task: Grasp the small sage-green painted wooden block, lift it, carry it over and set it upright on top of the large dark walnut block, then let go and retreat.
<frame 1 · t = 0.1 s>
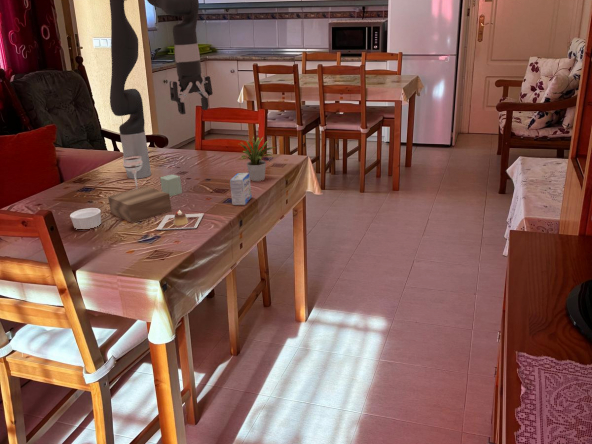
hand: (194, 111, 184), 29 cm above the table, fingers open, 8 cm apart
house plant: (255, 180, 210), on the table
ramekin: (88, 226, 175), on the table
sage block: (172, 193, 201), on the table
medicine box: (242, 202, 188), on the table
walnut block: (141, 213, 184), on the table
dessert: (181, 225, 173), on the table
wineglass: (137, 190, 207), on the table
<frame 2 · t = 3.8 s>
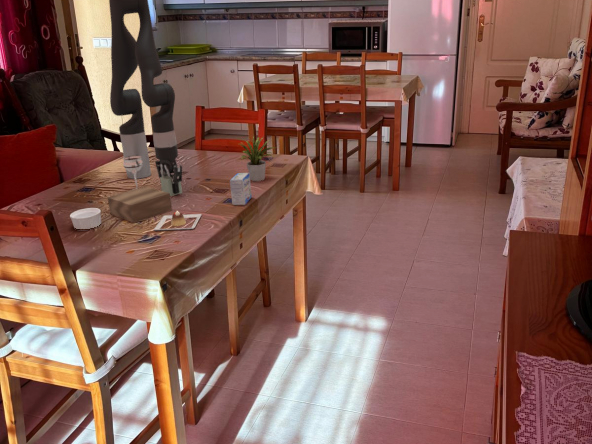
hand: (172, 191, 201), 1 cm above the table, fingers closed on sage block, 5 cm apart
sage block: (172, 193, 201), on the table, touching gripper
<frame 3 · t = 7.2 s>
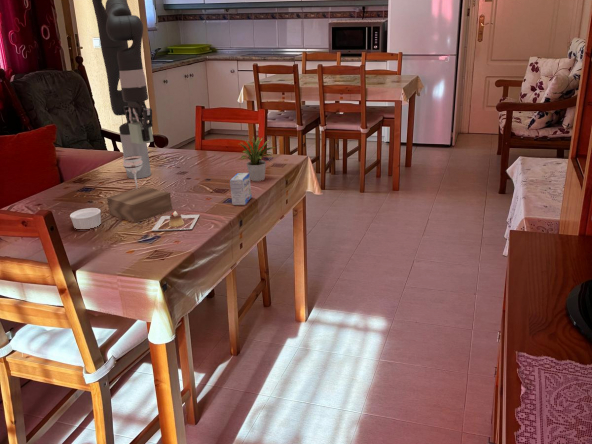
hand: (142, 139, 181), 22 cm above the table, fingers closed on sage block, 5 cm apart
sage block: (142, 141, 181), point 22 cm above the table, touching gripper
when the fingers open (8 cm above the table, at t = 11.0 s): sage block drops 2 cm, resting on walnut block.
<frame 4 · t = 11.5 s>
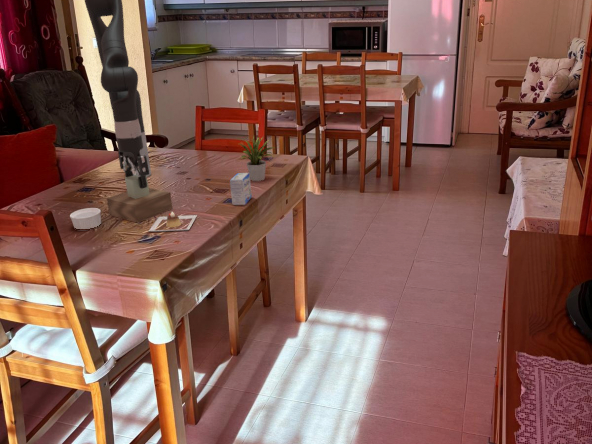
hand: (136, 185, 181), 9 cm above the table, fingers open, 8 cm apart
sage block: (138, 195, 182), point 6 cm above the table, touching walnut block
walnut block: (141, 213, 184), on the table, touching sage block
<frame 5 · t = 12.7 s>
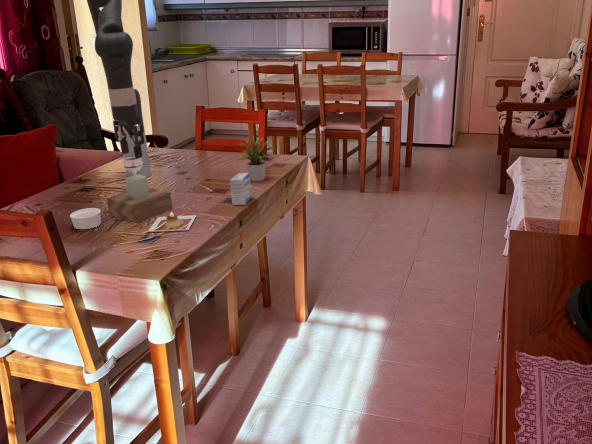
hand: (132, 155, 178), 19 cm above the table, fingers open, 8 cm apart
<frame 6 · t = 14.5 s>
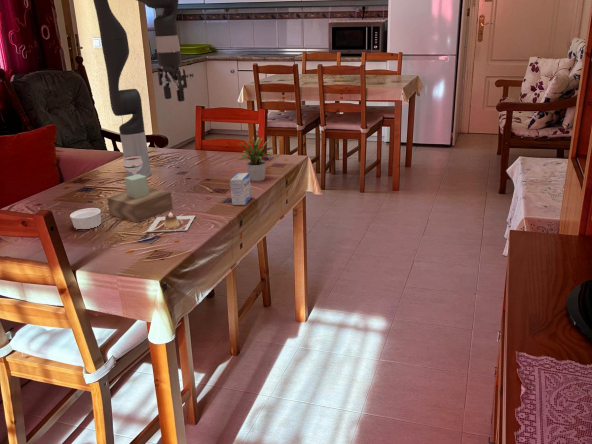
hand: (174, 100, 194), 31 cm above the table, fingers open, 8 cm apart
sage block: (138, 195, 182), point 6 cm above the table
walnut block: (141, 212, 185), on the table
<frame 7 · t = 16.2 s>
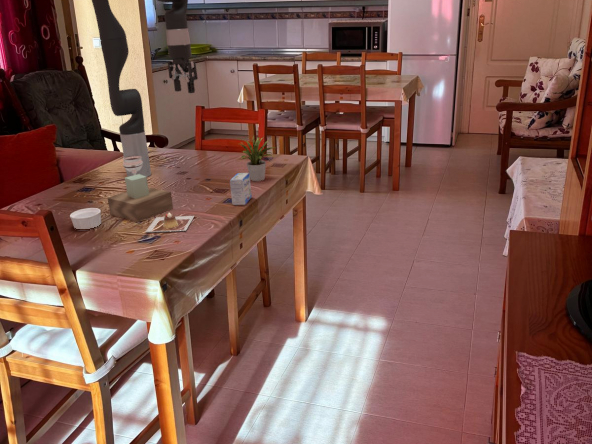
hand: (184, 92, 199), 33 cm above the table, fingers open, 8 cm apart
sage block: (138, 195, 182), point 6 cm above the table, touching walnut block
walnut block: (142, 212, 185), on the table, touching sage block
at the end: sage block inside the target area on the walnut block (0.5 cm from its centre), point 6.0 cm above the walnut block's base; sage block tilted 0°; the gripper is holding nothing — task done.
